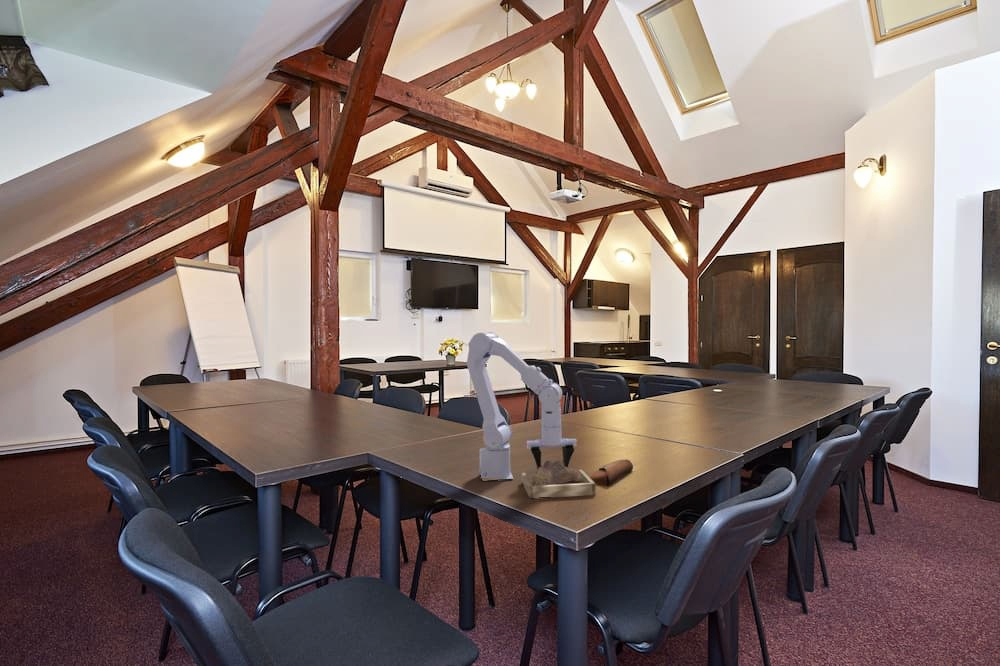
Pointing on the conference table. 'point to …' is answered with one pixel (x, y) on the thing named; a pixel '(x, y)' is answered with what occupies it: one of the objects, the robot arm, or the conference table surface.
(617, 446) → the conference table surface
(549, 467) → the rock
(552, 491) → the box
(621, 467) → the sunglasses case
